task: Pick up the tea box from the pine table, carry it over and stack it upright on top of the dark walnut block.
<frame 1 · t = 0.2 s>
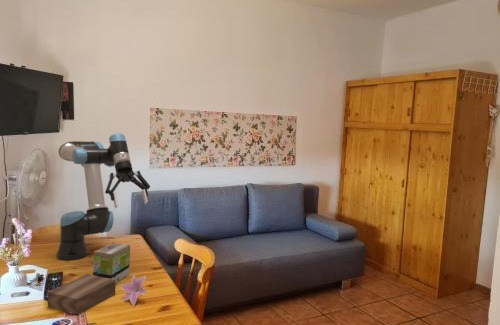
hand: (131, 204, 169), 35 cm above the table, tool tilted 35°, fingers open, 13 cm apart
walnut block: (82, 300, 149), on the table
tea box: (111, 279, 171), on the table
lily: (134, 300, 151), on the table
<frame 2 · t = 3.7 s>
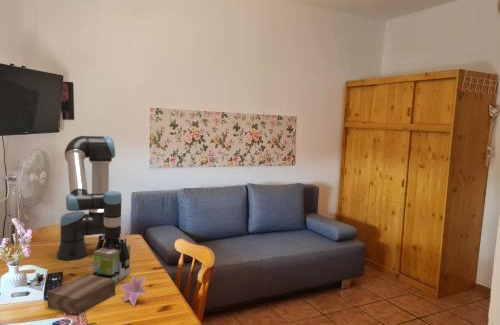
hand: (111, 272, 171), 3 cm above the table, tool pointing down, fingers closed on tea box, 11 cm apart
tea box: (111, 279, 171), on the table, touching gripper
everything else where it was.
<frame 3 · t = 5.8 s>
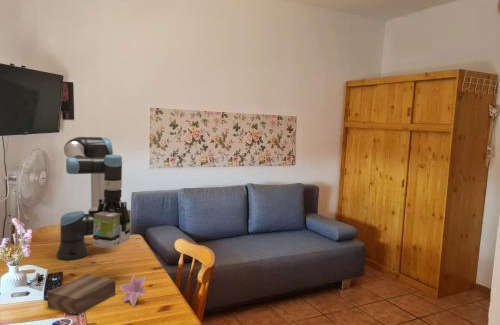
hand: (112, 236, 170), 20 cm above the table, tool pointing down, fingers closed on tea box, 11 cm apart
tea box: (112, 243, 170), point 17 cm above the table, touching gripper
everything else where it was.
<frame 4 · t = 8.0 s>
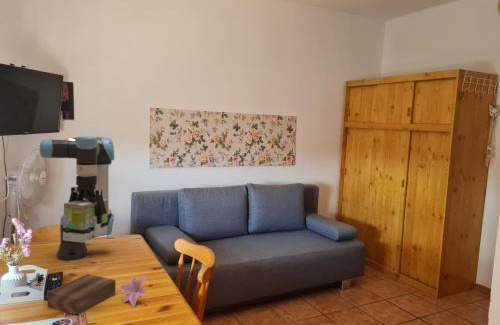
hand: (86, 229, 148), 28 cm above the table, tool pointing down, fingers closed on tea box, 11 cm apart
tea box: (86, 237, 148), point 25 cm above the table, touching gripper
everything else where it was.
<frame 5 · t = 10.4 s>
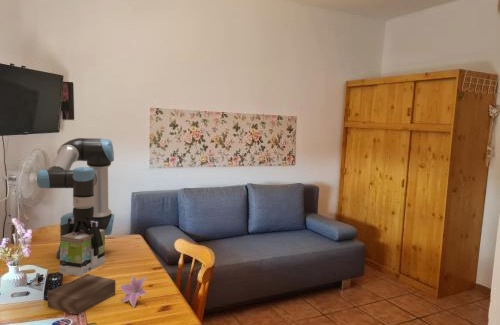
hand: (83, 261, 147), 16 cm above the table, tool pointing down, fingers closed on tea box, 11 cm apart
tea box: (83, 269, 148), point 13 cm above the table, touching gripper
when the fingers open (10 cm above the table, at t = 12.6 s): tea box drops 1 cm, resting on walnut block.
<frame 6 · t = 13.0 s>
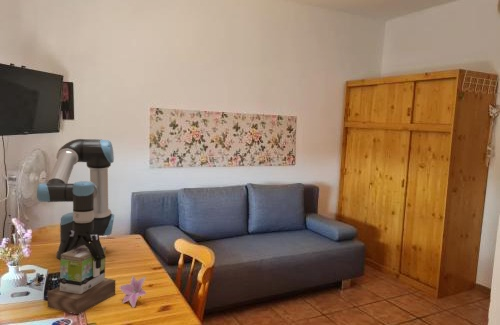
hand: (83, 273, 148), 11 cm above the table, tool pointing down, fingers open, 13 cm apart
tea box: (83, 286, 148), point 6 cm above the table, touching walnut block
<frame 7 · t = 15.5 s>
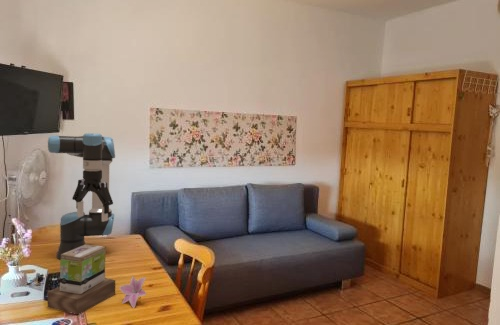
hand: (92, 218, 159), 30 cm above the table, tool pointing down, fingers open, 13 cm apart
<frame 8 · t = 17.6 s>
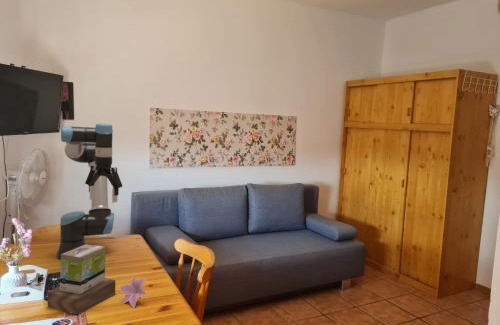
hand: (103, 200, 176), 35 cm above the table, tool pointing down, fingers open, 13 cm apart
at the end: tea box inside the target area on the walnut block (0.1 cm from its centre), point 5.8 cm above the walnut block's base; tea box tilted 0°; the gripper is holding nothing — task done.
